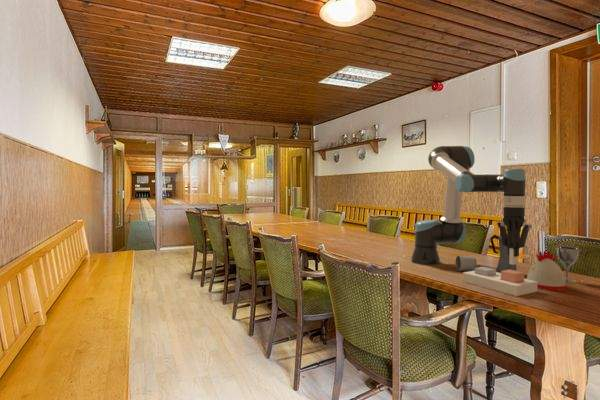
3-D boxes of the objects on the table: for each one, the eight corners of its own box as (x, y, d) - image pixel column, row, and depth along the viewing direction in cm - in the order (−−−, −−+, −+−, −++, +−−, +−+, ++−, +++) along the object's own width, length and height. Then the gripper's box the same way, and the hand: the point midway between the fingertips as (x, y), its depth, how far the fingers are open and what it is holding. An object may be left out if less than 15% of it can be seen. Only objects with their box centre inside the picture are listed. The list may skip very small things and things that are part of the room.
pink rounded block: (500, 279, 147) (500, 271, 147) (509, 277, 150) (509, 269, 150) (515, 282, 142) (515, 274, 142) (524, 281, 145) (524, 272, 144)
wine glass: (557, 277, 166) (558, 245, 165) (579, 280, 160) (580, 247, 159) (554, 280, 160) (555, 247, 159) (576, 284, 154) (577, 249, 154)
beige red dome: (519, 281, 159) (520, 248, 159) (551, 281, 159) (552, 248, 158) (539, 290, 145) (540, 254, 145) (574, 290, 145) (575, 254, 144)
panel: (462, 281, 159) (462, 272, 158) (482, 277, 165) (482, 269, 165) (516, 296, 137) (516, 286, 137) (537, 291, 144) (537, 281, 144)
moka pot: (519, 277, 166) (520, 234, 165) (485, 271, 177) (486, 231, 177) (526, 273, 172) (527, 233, 171) (492, 268, 184) (493, 229, 183)
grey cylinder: (477, 272, 175) (477, 257, 175) (460, 272, 175) (460, 256, 175) (468, 267, 186) (468, 253, 185) (452, 267, 186) (452, 253, 186)
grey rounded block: (474, 275, 158) (474, 268, 158) (483, 274, 160) (483, 266, 160) (487, 279, 152) (487, 271, 152) (495, 277, 155) (496, 269, 155)
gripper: (493, 206, 149) (492, 262, 149) (525, 207, 137) (523, 268, 138) (504, 205, 152) (503, 260, 153) (536, 207, 140) (535, 266, 141)
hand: (513, 263), depth 145 cm, fingers closed
